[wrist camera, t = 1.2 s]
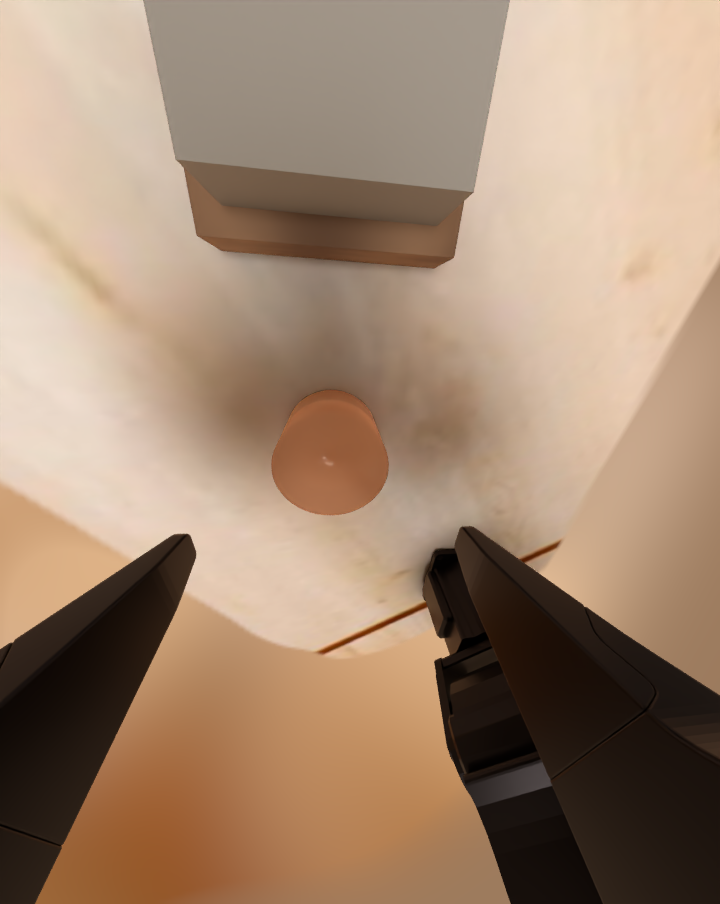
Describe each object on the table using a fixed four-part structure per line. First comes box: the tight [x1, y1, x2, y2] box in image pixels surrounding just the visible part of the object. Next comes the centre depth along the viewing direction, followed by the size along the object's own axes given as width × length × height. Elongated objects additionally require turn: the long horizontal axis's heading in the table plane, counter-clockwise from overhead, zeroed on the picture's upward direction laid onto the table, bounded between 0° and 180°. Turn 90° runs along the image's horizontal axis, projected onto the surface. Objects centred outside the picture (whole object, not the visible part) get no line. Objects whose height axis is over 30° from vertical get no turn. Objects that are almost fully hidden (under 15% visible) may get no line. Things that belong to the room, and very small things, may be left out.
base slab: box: [184, 168, 464, 268], centre depth 9 cm, size 10×10×3 cm
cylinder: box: [271, 390, 389, 515], centre depth 14 cm, size 6×6×4 cm
